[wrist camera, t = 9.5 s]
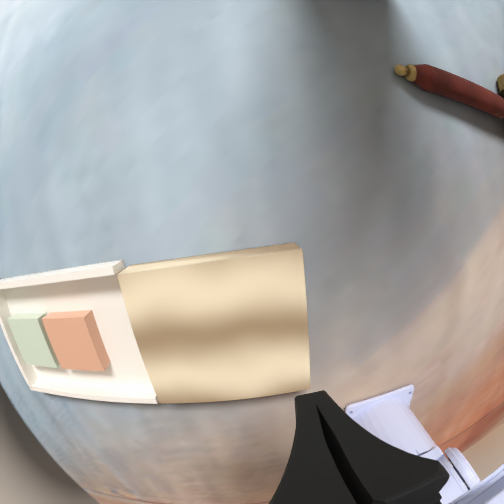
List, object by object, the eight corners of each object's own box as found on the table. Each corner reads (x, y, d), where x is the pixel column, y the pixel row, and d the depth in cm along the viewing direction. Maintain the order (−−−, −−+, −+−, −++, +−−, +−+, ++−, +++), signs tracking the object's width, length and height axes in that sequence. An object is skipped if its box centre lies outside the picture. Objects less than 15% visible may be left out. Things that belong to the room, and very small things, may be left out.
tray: (162, 389, 21) (157, 403, 19) (39, 380, 21) (30, 389, 19) (123, 259, 19) (112, 266, 17) (0, 279, 19) (-12, 284, 17)
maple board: (303, 370, 22) (310, 388, 19) (165, 385, 21) (159, 403, 19) (294, 242, 19) (302, 249, 17) (130, 265, 19) (117, 274, 17)
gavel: (417, 117, 15) (394, 12, 13) (390, 129, 20) (375, 35, 17) (546, 164, 15) (532, 83, 12) (521, 163, 19) (510, 89, 17)
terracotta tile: (110, 361, 20) (104, 371, 19) (69, 360, 20) (61, 368, 19) (91, 309, 19) (83, 317, 18) (50, 312, 19) (41, 318, 18)
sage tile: (25, 364, 19) (33, 357, 20) (57, 368, 19) (64, 359, 20) (7, 319, 17) (15, 313, 19) (37, 318, 18) (46, 312, 19)
